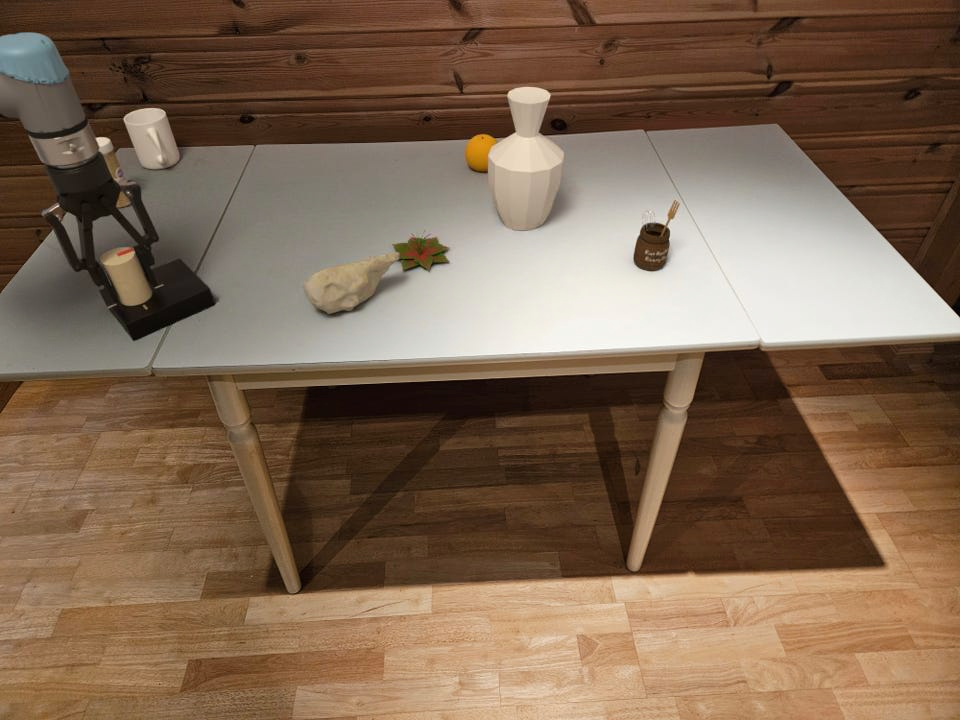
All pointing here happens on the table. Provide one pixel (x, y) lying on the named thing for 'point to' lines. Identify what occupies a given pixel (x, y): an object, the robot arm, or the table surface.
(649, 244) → the utensil holder
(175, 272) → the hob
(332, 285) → the chicken drumstick
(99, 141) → the sprinkles bottle
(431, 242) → the lily flower
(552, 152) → the vase
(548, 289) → the table surface
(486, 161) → the orange fruit
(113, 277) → the hob knob
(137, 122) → the mug
